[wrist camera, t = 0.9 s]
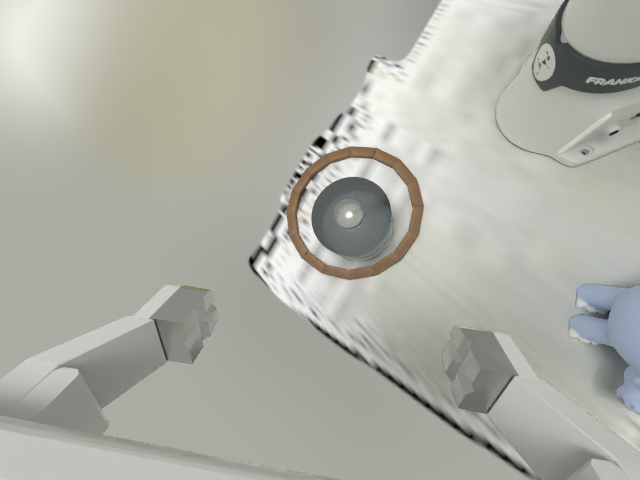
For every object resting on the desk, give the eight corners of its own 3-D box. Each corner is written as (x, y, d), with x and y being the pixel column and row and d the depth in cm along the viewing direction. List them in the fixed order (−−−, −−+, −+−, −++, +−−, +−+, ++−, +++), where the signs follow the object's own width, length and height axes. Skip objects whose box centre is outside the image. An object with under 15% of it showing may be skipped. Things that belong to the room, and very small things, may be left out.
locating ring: (403, 133, 44) (403, 129, 43) (437, 264, 39) (438, 263, 38) (283, 170, 50) (280, 168, 49) (298, 288, 45) (296, 288, 44)
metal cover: (385, 191, 43) (380, 164, 34) (399, 254, 41) (399, 244, 31) (323, 206, 46) (304, 186, 37) (333, 266, 44) (315, 261, 34)
